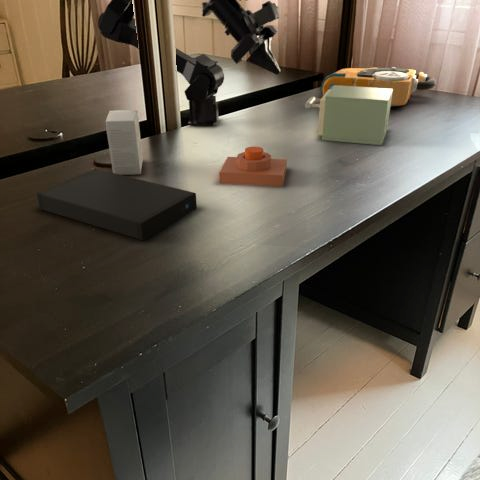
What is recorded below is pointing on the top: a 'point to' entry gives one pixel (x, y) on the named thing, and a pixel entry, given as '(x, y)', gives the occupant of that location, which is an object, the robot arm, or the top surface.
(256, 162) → the block
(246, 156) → the button
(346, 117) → the sage green box
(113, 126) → the small box
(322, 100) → the drawer
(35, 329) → the top surface
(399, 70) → the device
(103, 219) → the external hard drive
